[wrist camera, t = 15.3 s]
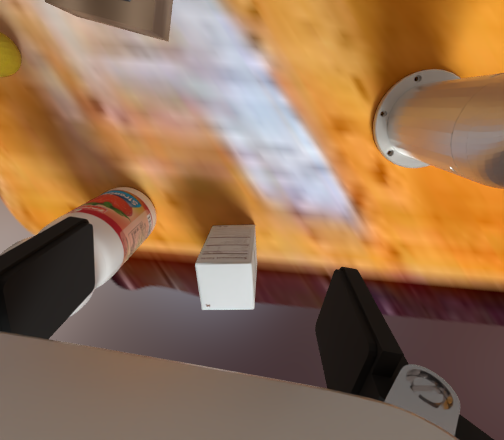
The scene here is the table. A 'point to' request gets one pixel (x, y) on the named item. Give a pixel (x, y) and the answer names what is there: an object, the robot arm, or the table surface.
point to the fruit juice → (112, 229)
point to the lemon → (8, 56)
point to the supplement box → (228, 268)
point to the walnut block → (124, 14)
